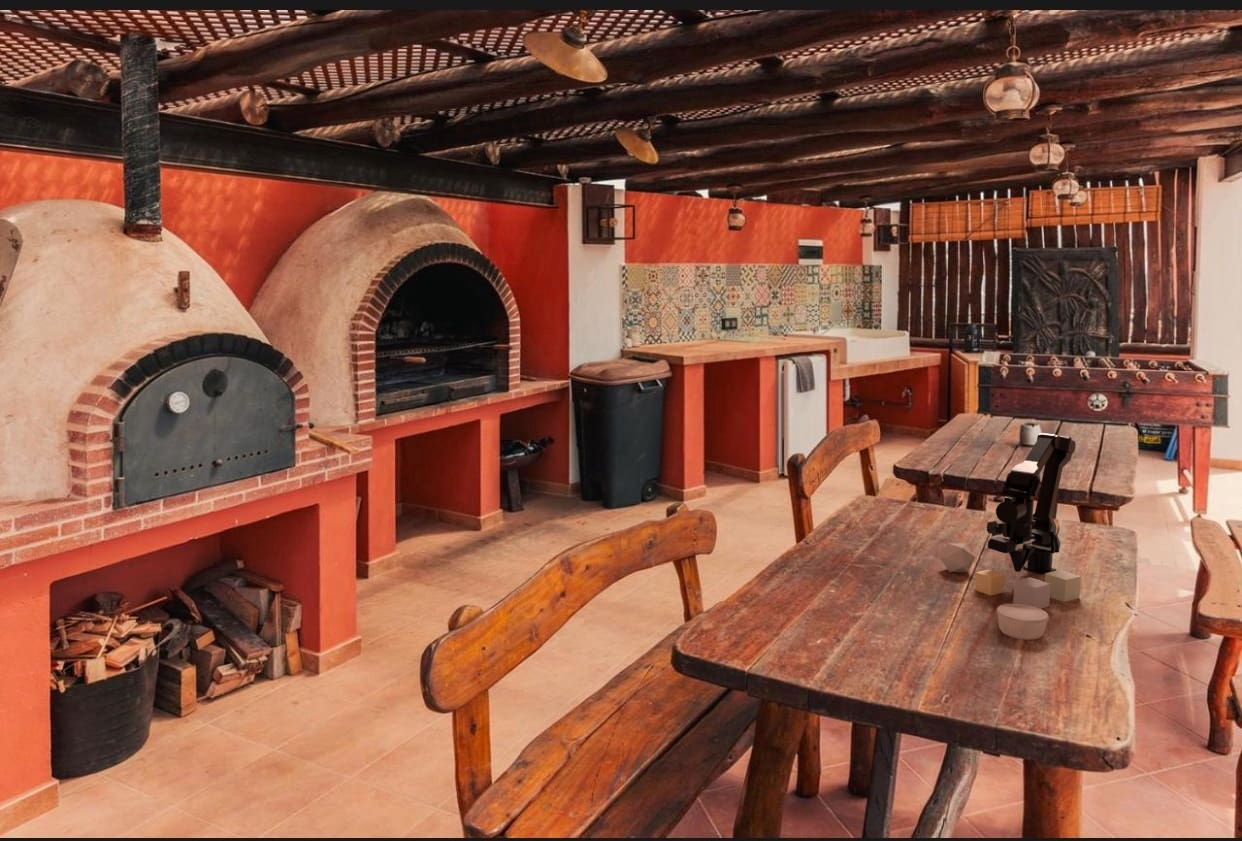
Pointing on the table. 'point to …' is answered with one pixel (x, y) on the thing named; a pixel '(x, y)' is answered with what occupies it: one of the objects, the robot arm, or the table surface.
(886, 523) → the table surface
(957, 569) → the die
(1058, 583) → the tan cube
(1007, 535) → the robot arm
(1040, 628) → the ramekin
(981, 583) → the mustard block
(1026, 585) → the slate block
